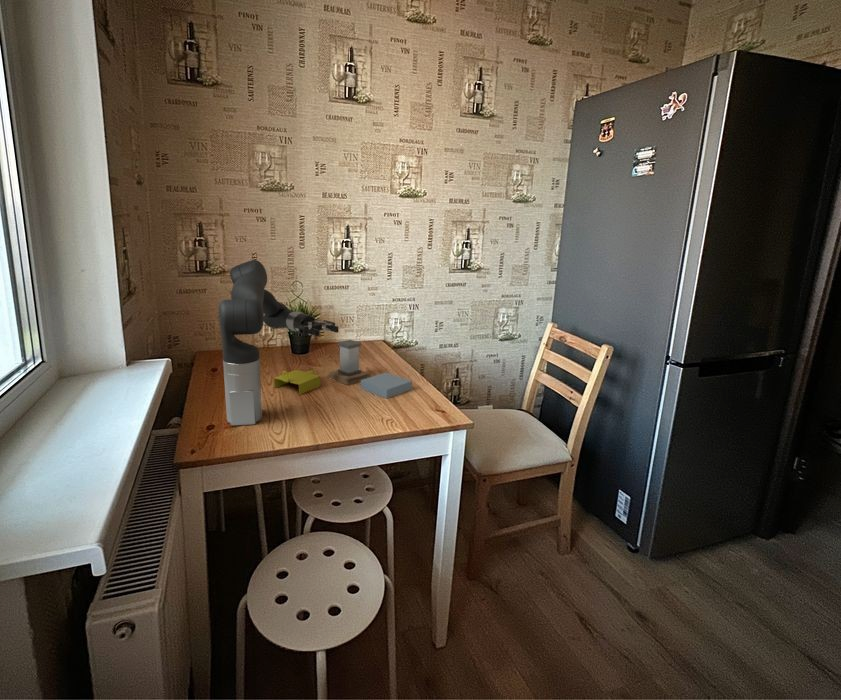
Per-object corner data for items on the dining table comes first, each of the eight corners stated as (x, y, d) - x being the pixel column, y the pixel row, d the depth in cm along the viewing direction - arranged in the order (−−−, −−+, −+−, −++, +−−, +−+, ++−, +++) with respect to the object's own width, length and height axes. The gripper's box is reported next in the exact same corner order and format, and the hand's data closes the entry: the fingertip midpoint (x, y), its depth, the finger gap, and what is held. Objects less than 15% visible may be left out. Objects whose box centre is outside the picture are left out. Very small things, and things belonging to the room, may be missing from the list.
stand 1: (369, 378, 172) (369, 373, 171) (347, 385, 164) (347, 379, 164) (350, 372, 178) (350, 366, 177) (328, 378, 171) (328, 372, 170)
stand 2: (411, 389, 163) (412, 381, 163) (386, 398, 155) (386, 389, 154) (386, 380, 171) (386, 372, 170) (360, 388, 162) (360, 380, 161)
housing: (360, 373, 171) (361, 342, 168) (348, 376, 167) (348, 345, 164) (350, 369, 174) (350, 339, 171) (337, 372, 170) (337, 342, 167)
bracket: (334, 363, 163) (303, 375, 150) (334, 385, 165) (304, 399, 153) (298, 355, 170) (266, 366, 157) (298, 376, 172) (267, 388, 159)
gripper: (284, 315, 178) (312, 324, 168) (316, 310, 188) (343, 318, 178) (285, 335, 180) (312, 345, 170) (316, 329, 191) (343, 338, 181)
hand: (328, 331), depth 174 cm, fingers open, 8 cm apart
